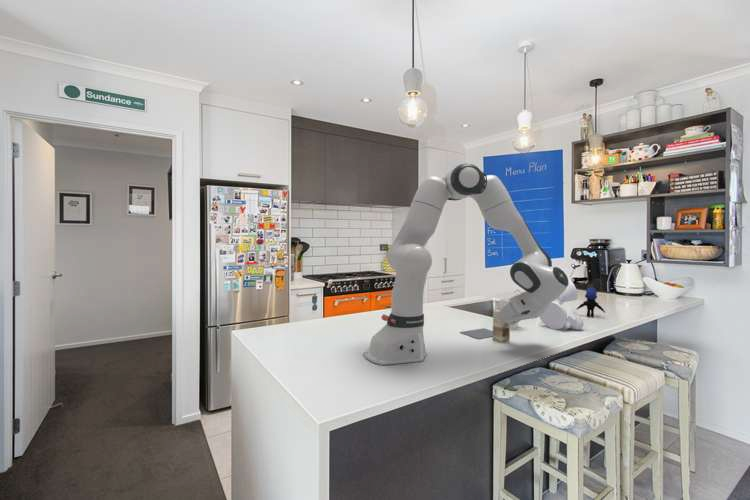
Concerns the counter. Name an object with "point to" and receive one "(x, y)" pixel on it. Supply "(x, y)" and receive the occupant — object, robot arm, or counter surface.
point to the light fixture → (562, 311)
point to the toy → (591, 302)
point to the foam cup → (503, 302)
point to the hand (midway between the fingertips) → (510, 323)
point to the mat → (479, 333)
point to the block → (500, 329)
